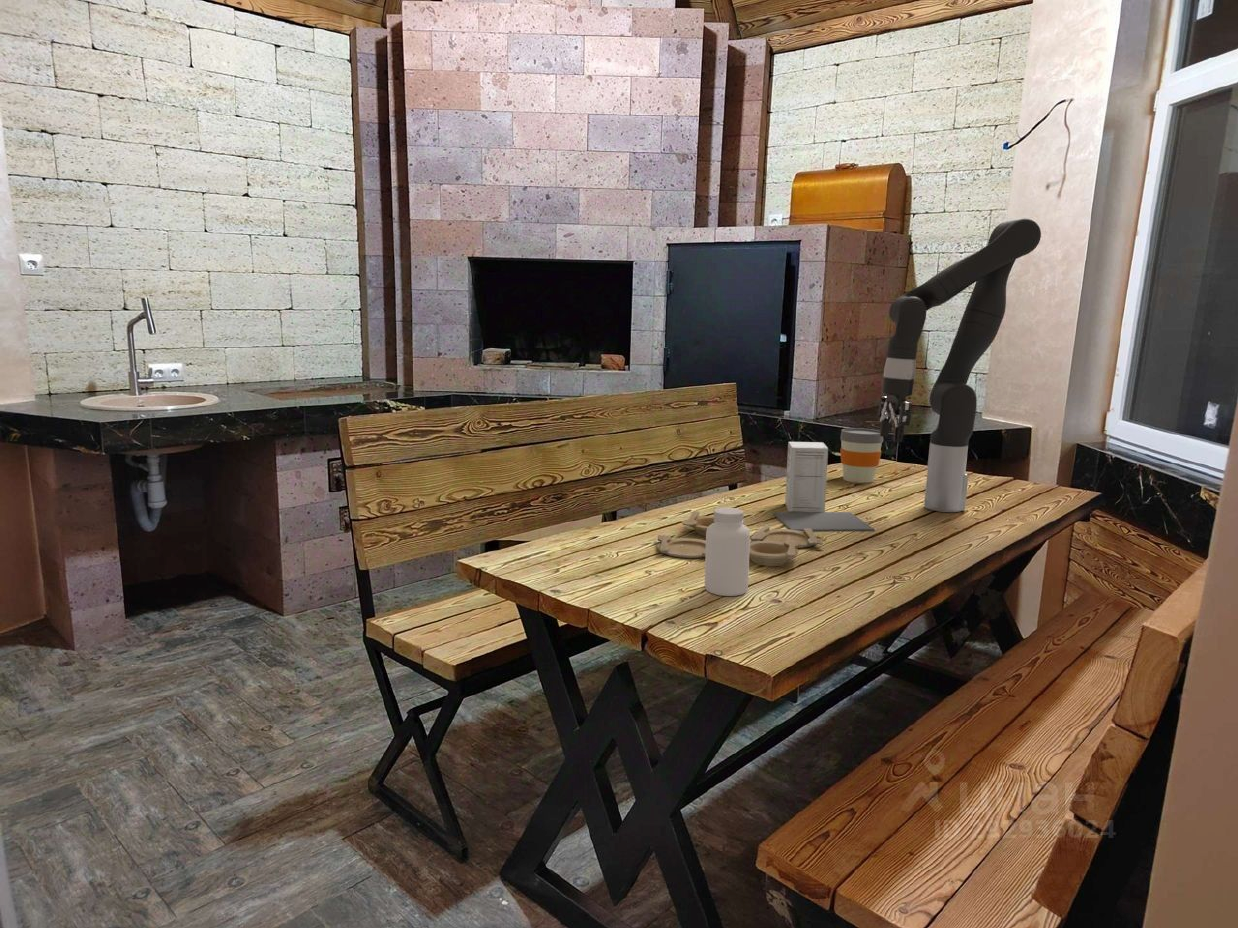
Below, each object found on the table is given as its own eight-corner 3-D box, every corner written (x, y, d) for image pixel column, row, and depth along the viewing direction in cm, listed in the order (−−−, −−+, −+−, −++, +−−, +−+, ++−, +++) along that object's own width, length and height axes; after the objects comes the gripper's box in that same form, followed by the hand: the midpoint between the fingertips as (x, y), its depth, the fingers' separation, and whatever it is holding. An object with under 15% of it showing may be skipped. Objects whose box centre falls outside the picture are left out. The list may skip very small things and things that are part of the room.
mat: (849, 513, 208) (849, 512, 208) (874, 530, 192) (874, 529, 192) (772, 513, 206) (772, 512, 206) (791, 531, 190) (791, 529, 190)
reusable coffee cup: (853, 473, 258) (856, 426, 255) (888, 480, 249) (892, 432, 246) (828, 478, 250) (832, 430, 247) (864, 485, 241) (868, 435, 238)
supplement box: (820, 504, 217) (824, 442, 213) (825, 513, 208) (830, 448, 204) (783, 503, 218) (787, 440, 214) (787, 511, 209) (791, 446, 205)
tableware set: (827, 538, 186) (828, 521, 186) (813, 577, 159) (815, 557, 158) (678, 522, 197) (679, 506, 197) (642, 556, 170) (642, 538, 169)
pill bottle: (700, 582, 154) (703, 505, 151) (742, 582, 154) (746, 505, 151) (708, 597, 146) (711, 516, 143) (752, 597, 146) (756, 516, 144)
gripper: (925, 380, 201) (916, 444, 204) (901, 375, 215) (893, 435, 218) (896, 378, 200) (888, 443, 203) (873, 373, 214) (866, 434, 217)
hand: (890, 439), depth 211 cm, fingers open, 8 cm apart
